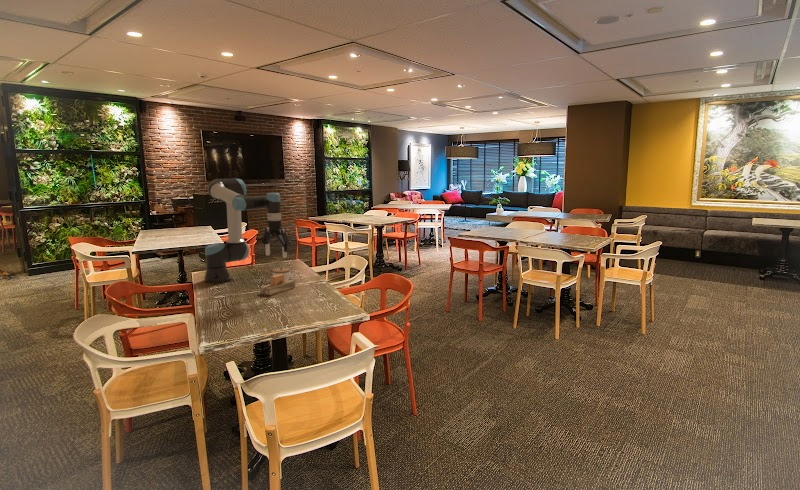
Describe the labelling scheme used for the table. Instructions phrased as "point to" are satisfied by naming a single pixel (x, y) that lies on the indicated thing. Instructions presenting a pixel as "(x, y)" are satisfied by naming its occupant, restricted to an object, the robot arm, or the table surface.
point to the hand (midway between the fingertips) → (276, 256)
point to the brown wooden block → (277, 287)
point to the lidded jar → (282, 272)
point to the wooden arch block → (277, 279)
